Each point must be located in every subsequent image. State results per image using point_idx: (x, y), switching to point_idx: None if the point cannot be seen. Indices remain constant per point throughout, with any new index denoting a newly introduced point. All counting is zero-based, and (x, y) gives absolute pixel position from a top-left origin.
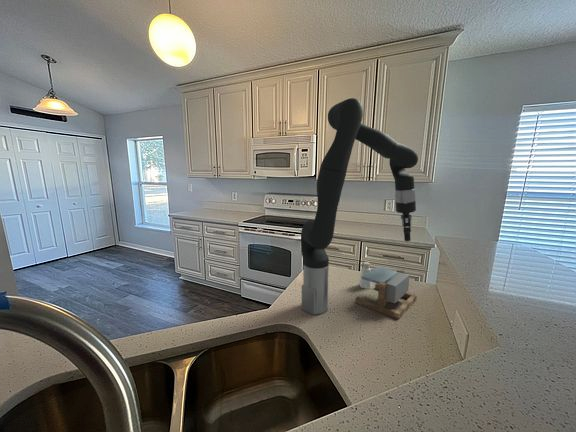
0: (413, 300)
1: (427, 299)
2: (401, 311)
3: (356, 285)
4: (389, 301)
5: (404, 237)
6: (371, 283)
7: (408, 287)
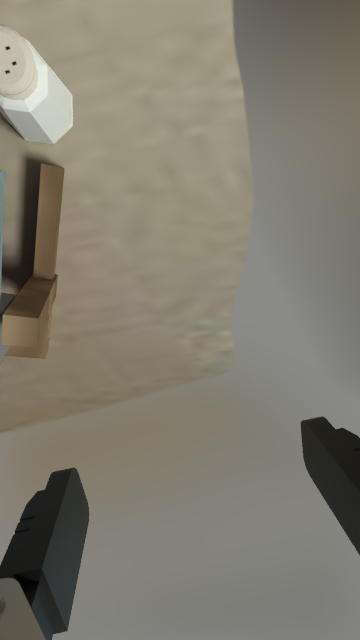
0: None
1: (82, 378)
2: None
3: None
4: None
5: (39, 505)
6: (43, 138)
7: (7, 347)
